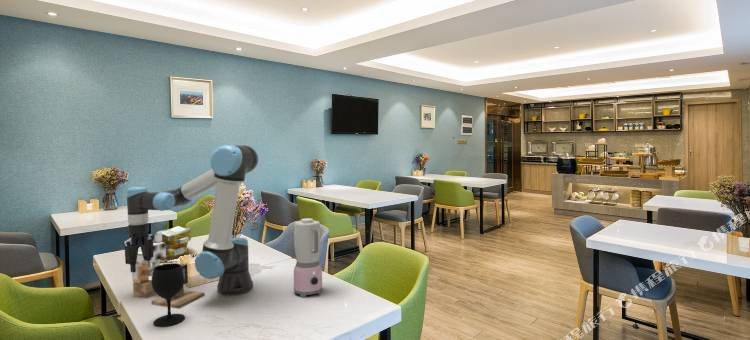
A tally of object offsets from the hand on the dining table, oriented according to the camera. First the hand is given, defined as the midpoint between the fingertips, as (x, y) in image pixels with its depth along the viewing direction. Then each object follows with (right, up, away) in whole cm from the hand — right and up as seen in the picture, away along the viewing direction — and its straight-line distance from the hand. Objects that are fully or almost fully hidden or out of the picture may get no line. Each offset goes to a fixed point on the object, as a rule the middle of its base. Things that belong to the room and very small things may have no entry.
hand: (140, 277), depth 170 cm
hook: (+7, -2, -2) cm, 8 cm away
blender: (+72, -7, +1) cm, 73 cm away
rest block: (+2, -8, 0) cm, 8 cm away
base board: (+19, -8, -6) cm, 21 cm away
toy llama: (-15, -6, +32) cm, 36 cm away
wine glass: (+25, -9, -25) cm, 37 cm away
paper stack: (-16, -5, +59) cm, 62 cm away
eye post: (+19, -7, -6) cm, 21 cm away
